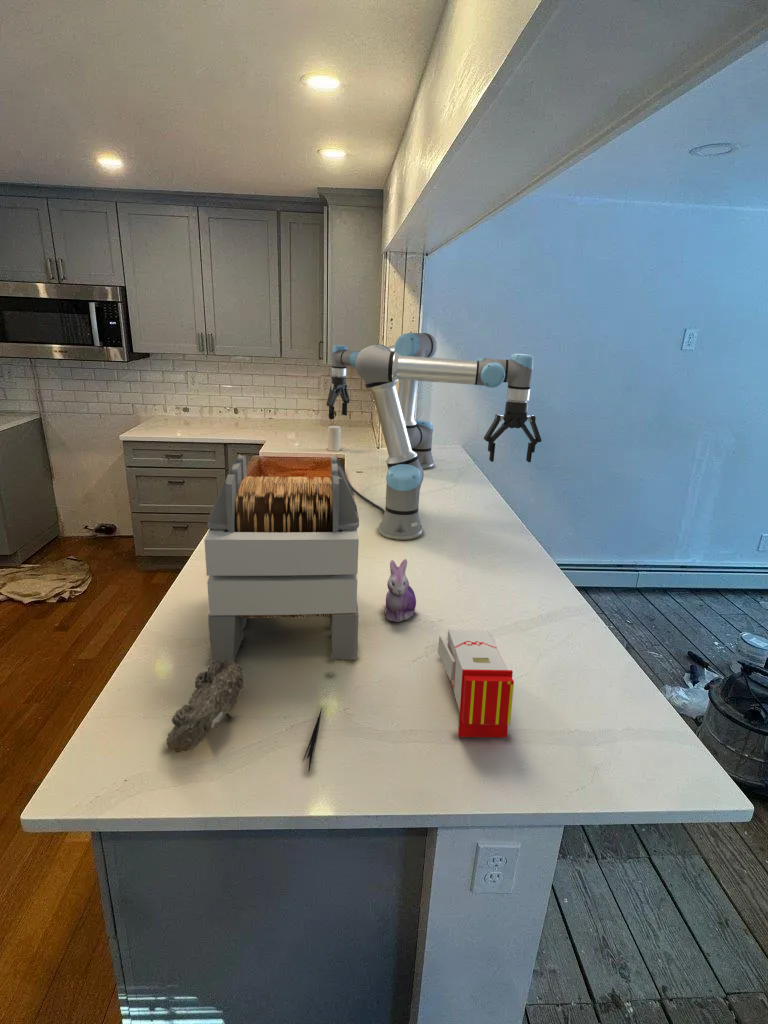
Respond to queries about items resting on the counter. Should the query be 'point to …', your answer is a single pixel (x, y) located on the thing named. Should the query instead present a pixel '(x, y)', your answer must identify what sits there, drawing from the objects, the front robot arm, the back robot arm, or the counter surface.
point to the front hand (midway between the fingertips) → (509, 461)
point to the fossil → (206, 705)
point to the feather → (313, 740)
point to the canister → (334, 438)
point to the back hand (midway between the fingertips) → (338, 417)
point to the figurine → (399, 594)
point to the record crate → (282, 556)
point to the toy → (478, 682)
